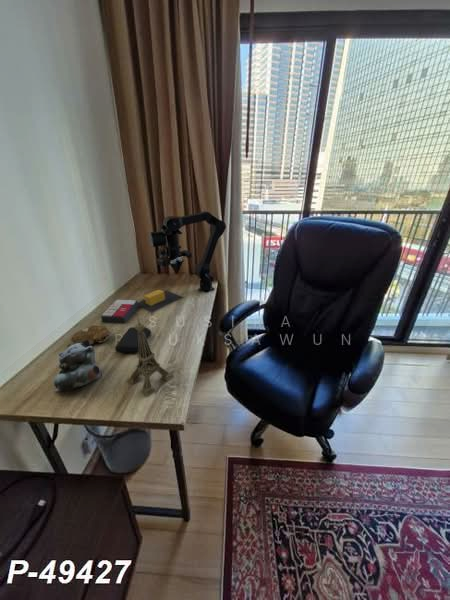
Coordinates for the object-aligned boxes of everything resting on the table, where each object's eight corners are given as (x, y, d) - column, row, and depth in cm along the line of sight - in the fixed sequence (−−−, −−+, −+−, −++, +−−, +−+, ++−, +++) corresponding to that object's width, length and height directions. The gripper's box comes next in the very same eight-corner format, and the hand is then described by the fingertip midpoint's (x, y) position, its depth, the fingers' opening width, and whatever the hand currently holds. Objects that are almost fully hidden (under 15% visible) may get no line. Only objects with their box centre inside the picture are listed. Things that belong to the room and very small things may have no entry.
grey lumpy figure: (45, 394, 77) (36, 349, 77) (79, 380, 88) (72, 341, 88) (80, 391, 72) (72, 344, 72) (112, 377, 83) (104, 336, 83)
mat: (166, 291, 141) (166, 290, 141) (183, 297, 133) (183, 297, 133) (135, 304, 128) (135, 304, 127) (151, 313, 120) (151, 312, 120)
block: (158, 289, 132) (144, 295, 126) (164, 291, 129) (149, 297, 123) (159, 296, 134) (145, 303, 128) (165, 299, 131) (151, 305, 125)
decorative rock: (118, 331, 107) (85, 332, 108) (116, 323, 105) (82, 323, 107) (104, 347, 97) (68, 347, 98) (102, 338, 95) (64, 338, 96)
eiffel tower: (154, 362, 89) (141, 300, 77) (173, 376, 83) (163, 311, 71) (127, 380, 82) (109, 314, 70) (146, 396, 76) (130, 327, 64)
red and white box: (99, 315, 112) (116, 298, 125) (102, 323, 114) (118, 305, 127) (123, 316, 110) (137, 299, 123) (125, 324, 113) (139, 306, 125)
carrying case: (141, 355, 93) (154, 332, 106) (140, 348, 91) (153, 326, 104) (114, 354, 93) (130, 331, 106) (112, 347, 92) (129, 325, 105)
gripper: (176, 237, 133) (179, 265, 140) (147, 245, 120) (152, 276, 127) (191, 240, 126) (193, 270, 134) (161, 249, 114) (166, 281, 121)
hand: (176, 273), depth 129 cm, fingers closed
